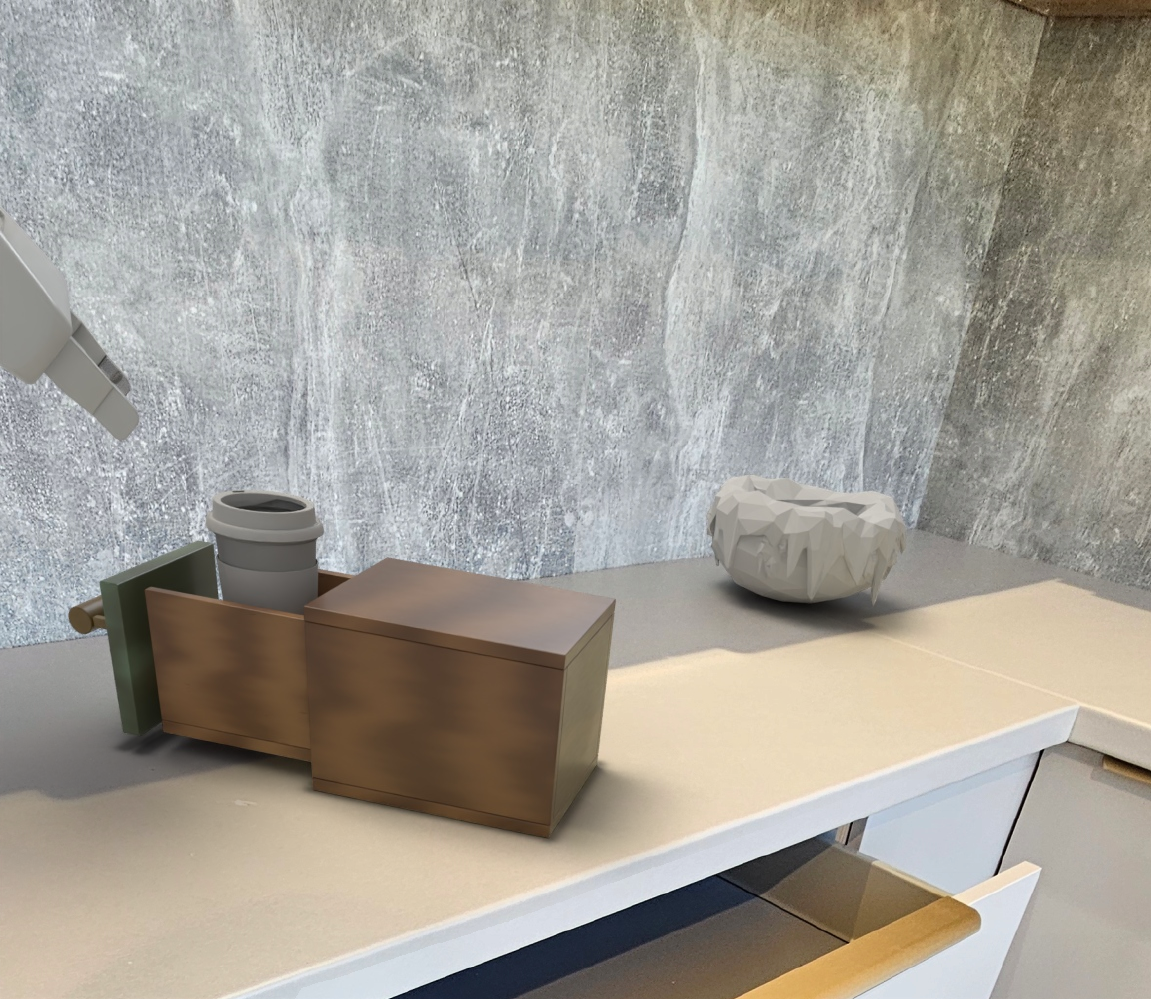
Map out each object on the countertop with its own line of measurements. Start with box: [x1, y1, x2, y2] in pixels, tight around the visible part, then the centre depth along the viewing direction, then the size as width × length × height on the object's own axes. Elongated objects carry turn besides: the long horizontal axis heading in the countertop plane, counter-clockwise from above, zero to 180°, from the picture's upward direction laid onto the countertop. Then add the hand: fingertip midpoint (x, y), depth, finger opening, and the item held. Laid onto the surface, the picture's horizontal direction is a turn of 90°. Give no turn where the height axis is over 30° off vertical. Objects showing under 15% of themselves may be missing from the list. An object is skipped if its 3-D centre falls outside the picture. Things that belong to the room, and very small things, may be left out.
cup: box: [205, 489, 325, 616], centre depth 73 cm, size 7×7×12 cm
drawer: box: [67, 540, 356, 763], centre depth 75 cm, size 19×12×9 cm, turn 76°
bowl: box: [705, 474, 907, 607], centre depth 118 cm, size 21×20×10 cm
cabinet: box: [303, 556, 617, 839], centre depth 74 cm, size 16×14×11 cm
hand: (127, 412), depth 65 cm, fingers open, 8 cm apart
